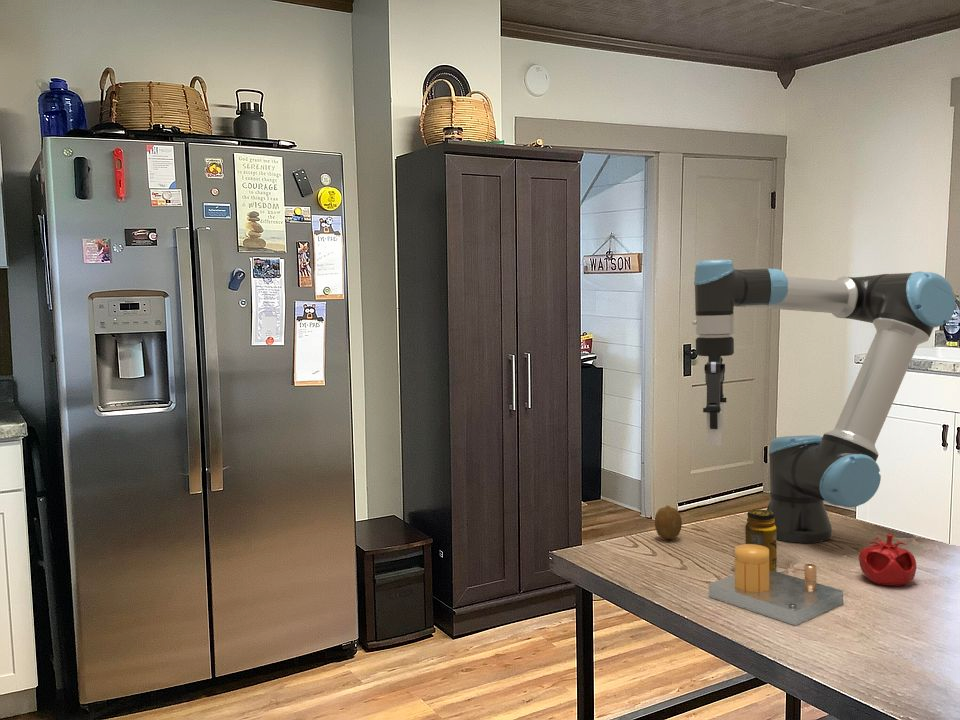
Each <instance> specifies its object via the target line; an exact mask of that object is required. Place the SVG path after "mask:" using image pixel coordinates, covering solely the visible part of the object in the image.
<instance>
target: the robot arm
mask: <svg viewBox="0 0 960 720" xmlns="http://www.w3.org/2000/svg"><path fill="white" fill-rule="evenodd" d="M693 284H694V306H695V307H694V309H695V319H694V320H692V322H691V324H692V325H693V326H695V334H696V335H697V336H698V337H696V338H695V354H696V355H697V356H698V357H708V361H707V362H706V363H705V364H704V374H705V377H704V378H705V385H706V406H705V407H702V410H703V411H702V413H706V445H707V446H722V435H724V434H725V432H724V431H725V430H724V428H725V426H724V424H725V423H724V417H725V416H724V410H725V409H724V403H727V397H724V387H723V386H724V385H723V384H724V382H725V373H726V364H725V363H723V361H724V359H723V357H728V356H733V354H735V351H734V350H735V343H734V342H735V340H734V338H733V336H732V335H734V333H735V317H734V316H735V315H734V309H735V308H734V307H737V308H738V307H741V308H743V307H745V308H754V309H757V308H758V309H772V310H783V311H786V310H787V311H798V312H812V313H813V312H814V313H826V314H827V313H829V314H831V315H833V317H834V318H835V317H836V318H838V319H848V320H854V321H858V322H859V321H860V322H865V323H871V324H873V326H874V328H875V330H876V332H875V335H874V336H873V339H872V342H871V343H870V345H869V348H868V351H867V353H866V355H865V357H864V359H863V363H862V365H861V367H860V369H859V371H858V373H857V376H856V378H855V380H854V383H853V384H852V387H851V390H850V392H849V394H848V396H847V399H846V401H845V404H844V405H843V409H842V410H841V413H840V414H839V416H838V420H837V422H836V424H835V426H834V428H833V429H832V430H829V431H827V432H824V433H823V436H821V435H816V434H815V435H805V434H804V435H789V436H779V437H774V438H773V439H772V440H771V441H770V444H769V453H768V456H769V502H768V505H767V508H766V510H768V511H771V512H773V513H774V521H775V523H774V525H775V526H776V531H777V533H776V534H777V535H776V541H777V540H779V541H783V542H789V543H800V544H801V543H802V544H804V543H805V544H810V543H811V544H812V543H821V542H825V541H828V540H830V539H831V538H832V537H833V529H832V524H831V521H830V518H829V515H828V512H827V509H826V507H825V504H824V502H826V503H827V502H828V503H829V504H831V505H834V506H840V507H843V508H845V507H846V508H857V507H859V506H861V505H864V504H866V503H867V502H869V501H870V500H871V499H872V498H873V497H874V496H875V494H876V493H877V491H878V489H879V488H880V484H881V478H882V475H881V474H880V472H881V469H880V467H879V464H878V463H877V460H878V457H879V451H878V450H877V448H876V443H877V440H878V438H879V436H880V433H881V431H882V429H883V426H884V424H885V422H886V419H887V417H888V415H889V413H890V410H891V408H892V405H893V403H894V401H895V399H896V397H897V393H898V392H899V390H900V388H901V384H902V383H903V380H904V378H905V376H906V373H907V371H908V368H909V366H910V364H911V363H912V359H913V358H914V354H915V352H916V350H917V348H918V346H919V345H921V344H924V343H926V342H928V341H929V339H930V337H931V335H932V333H933V331H934V329H935V328H937V327H938V328H939V327H941V326H943V325H945V324H947V323H948V322H949V321H951V318H952V317H953V315H954V312H955V310H956V296H955V293H954V291H953V287H952V285H951V283H950V282H949V281H948V279H946V278H945V277H944V276H942V275H941V274H939V273H937V272H932V271H931V272H929V271H928V272H927V271H915V272H906V273H905V272H904V273H901V272H900V273H883V274H874V275H867V276H854V277H852V276H851V277H850V276H841V277H838V278H837V279H836V280H833V279H822V278H821V279H820V278H810V277H795V276H794V277H793V276H787V275H786V274H785V273H784V272H783V270H781V269H779V268H769V267H768V268H767V267H766V268H751V269H748V268H747V269H735V268H734V262H733V261H732V259H731V260H730V259H706V260H701V261H699V262H697V263H696V265H695V271H694V282H693Z"/></svg>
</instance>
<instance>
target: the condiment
mask: <svg viewBox="0 0 960 720" xmlns="http://www.w3.org/2000/svg"><path fill="white" fill-rule="evenodd" d="M746 515H747V519H746V521H747V522H746V524H745V527H744V528H745V534H744V535H745V536H744V537H745V541H744V542H745V543H744V544H756V545H761V546H765V547H767V548H768V549H769V570H772V571H775V572H779V573H782V572H785V571H786V569H784V568H781V567H777V564H778V563H777V558H778V557H777V548H778V546H777V539H776V535H777V534H776V533H777V531H776V526H775V525H774V523H775V521H774V513H773V512H771V511H768V510H767V509H750V510H749V511H747V513H746ZM729 569H730V570H732V571H734V572H735V566H733V567H730V568H729Z"/></svg>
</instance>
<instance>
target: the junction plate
mask: <svg viewBox="0 0 960 720" xmlns="http://www.w3.org/2000/svg"><path fill="white" fill-rule="evenodd" d="M769 588H770V589H769V590H766V591H762V592H751V591H744V590H741V589H739V588H736V587H735V574H732V575H729V576H727V577H726V576H725V577H724V578H721V579H717V580H716V581H712V582H710V583H708V597H709V598H711V599H714V600H717V601H720V602H723V603H726V604H729V605H732V606H734V607H735V606H736V607H739V608H741V609H744V610H746V611H750V612H753V613H756V614H759V615H762V616H766V617H768V618H771V619H774V620H776V621H780V622H783V623H785V624H789V625H792V626H798V625H800V624H802V623H805V622H807V621H809V620H812V619H813V618H816V617H818V616H820V615H822V614H824V613H827V612H829V611H831V610H833V609H835V608H838V607H840V606H842V605H844V590H843V589H839V588H835V587H833V586H829V585H826V584H822V583H817V565H816V564H814V563H813V564H812V563H805V564H804V578H800V577H796V576H793V575H789V574H785V573H782V572H775V571H772V570H769Z"/></svg>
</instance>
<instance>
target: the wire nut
mask: <svg viewBox="0 0 960 720" xmlns="http://www.w3.org/2000/svg"><path fill="white" fill-rule="evenodd" d="M734 567H735V571H734V575H735V587H736V588H739V589H741V590H744V591H751V592H762V591H766V590H769V589H770V588H769V549H768V548H767V547H765V546H761V545H756V544H745V543H743V544H737V545H735V546H734Z"/></svg>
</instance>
